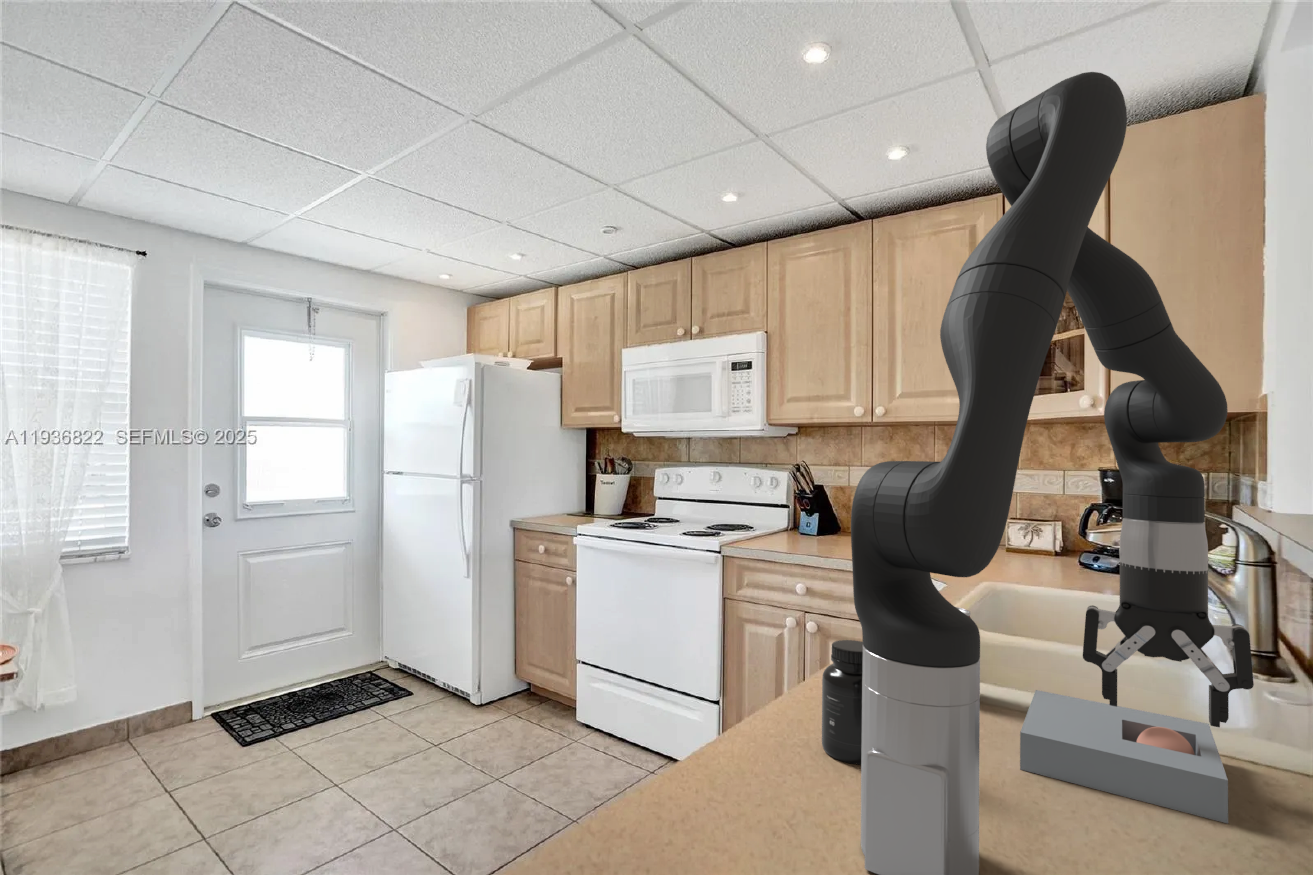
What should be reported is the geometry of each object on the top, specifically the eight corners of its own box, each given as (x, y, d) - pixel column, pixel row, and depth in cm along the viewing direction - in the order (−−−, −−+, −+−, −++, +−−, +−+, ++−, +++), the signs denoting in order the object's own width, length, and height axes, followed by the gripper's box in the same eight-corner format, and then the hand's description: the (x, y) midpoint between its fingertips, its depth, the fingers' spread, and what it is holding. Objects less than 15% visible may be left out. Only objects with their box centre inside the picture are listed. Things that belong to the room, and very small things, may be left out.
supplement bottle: (809, 742, 76) (811, 639, 76) (858, 735, 78) (859, 635, 78) (845, 770, 69) (846, 657, 70) (897, 760, 72) (898, 651, 72)
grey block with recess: (1228, 823, 60) (1227, 780, 60) (1020, 769, 70) (1020, 732, 70) (1209, 759, 73) (1208, 723, 73) (1035, 721, 83) (1035, 689, 83)
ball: (1165, 726, 67) (1124, 752, 69) (1211, 770, 65) (1167, 795, 67) (1162, 711, 72) (1124, 736, 73) (1205, 752, 69) (1164, 776, 71)
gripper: (1081, 558, 71) (1081, 708, 71) (1257, 575, 63) (1258, 745, 62) (1085, 551, 77) (1084, 689, 77) (1245, 565, 69) (1246, 720, 68)
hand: (1162, 714), depth 69 cm, fingers open, 8 cm apart
